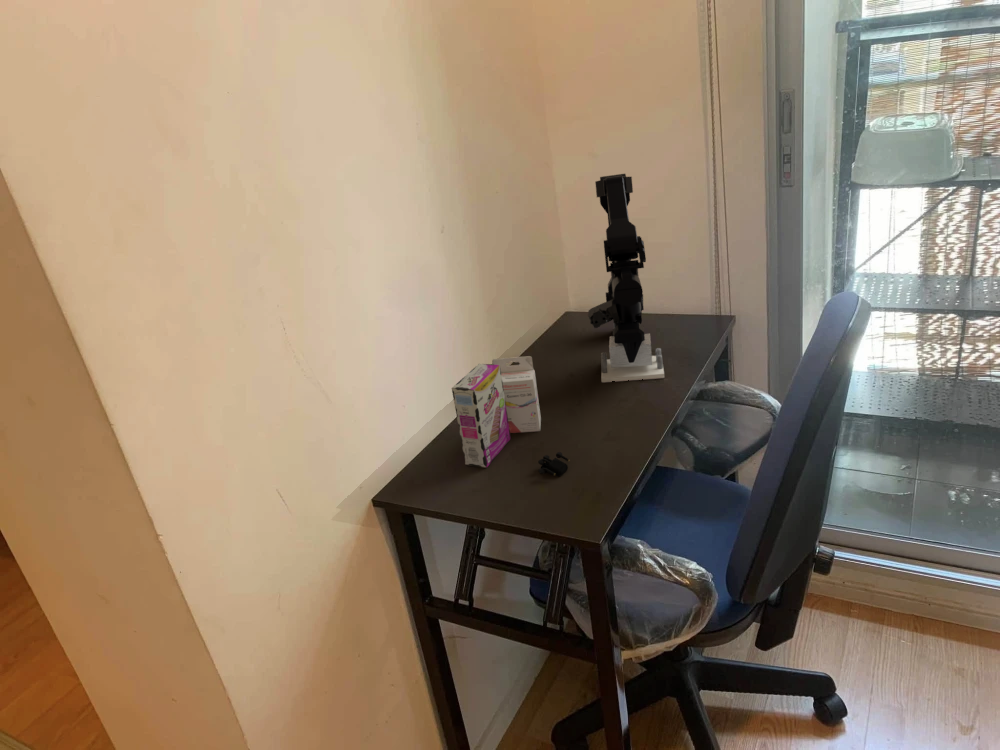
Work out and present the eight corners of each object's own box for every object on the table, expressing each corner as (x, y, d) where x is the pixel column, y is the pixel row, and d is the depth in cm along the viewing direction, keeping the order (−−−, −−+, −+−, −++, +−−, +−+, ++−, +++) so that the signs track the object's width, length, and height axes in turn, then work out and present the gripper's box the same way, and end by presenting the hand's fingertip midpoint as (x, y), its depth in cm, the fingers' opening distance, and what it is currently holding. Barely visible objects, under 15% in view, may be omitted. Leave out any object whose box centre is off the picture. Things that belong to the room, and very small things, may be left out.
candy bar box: (488, 469, 128) (473, 390, 122) (464, 466, 131) (449, 388, 124) (513, 438, 137) (500, 363, 131) (490, 436, 140) (477, 362, 133)
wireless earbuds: (555, 478, 120) (531, 464, 123) (552, 489, 122) (529, 475, 124) (575, 458, 125) (552, 445, 127) (573, 468, 127) (550, 455, 129)
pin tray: (602, 363, 163) (600, 348, 161) (661, 359, 160) (660, 343, 159) (601, 382, 154) (600, 366, 152) (664, 377, 151) (663, 361, 150)
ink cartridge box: (498, 435, 140) (487, 369, 134) (500, 423, 144) (489, 358, 138) (540, 431, 138) (531, 364, 132) (542, 419, 143) (532, 354, 137)
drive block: (611, 356, 160) (609, 336, 158) (651, 353, 158) (650, 333, 156) (610, 367, 155) (609, 347, 153) (652, 364, 153) (650, 344, 151)
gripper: (589, 280, 159) (595, 343, 166) (587, 309, 143) (594, 377, 149) (638, 275, 157) (643, 339, 164) (642, 303, 141) (647, 373, 147)
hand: (631, 356), depth 156 cm, fingers closed on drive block, 6 cm apart
